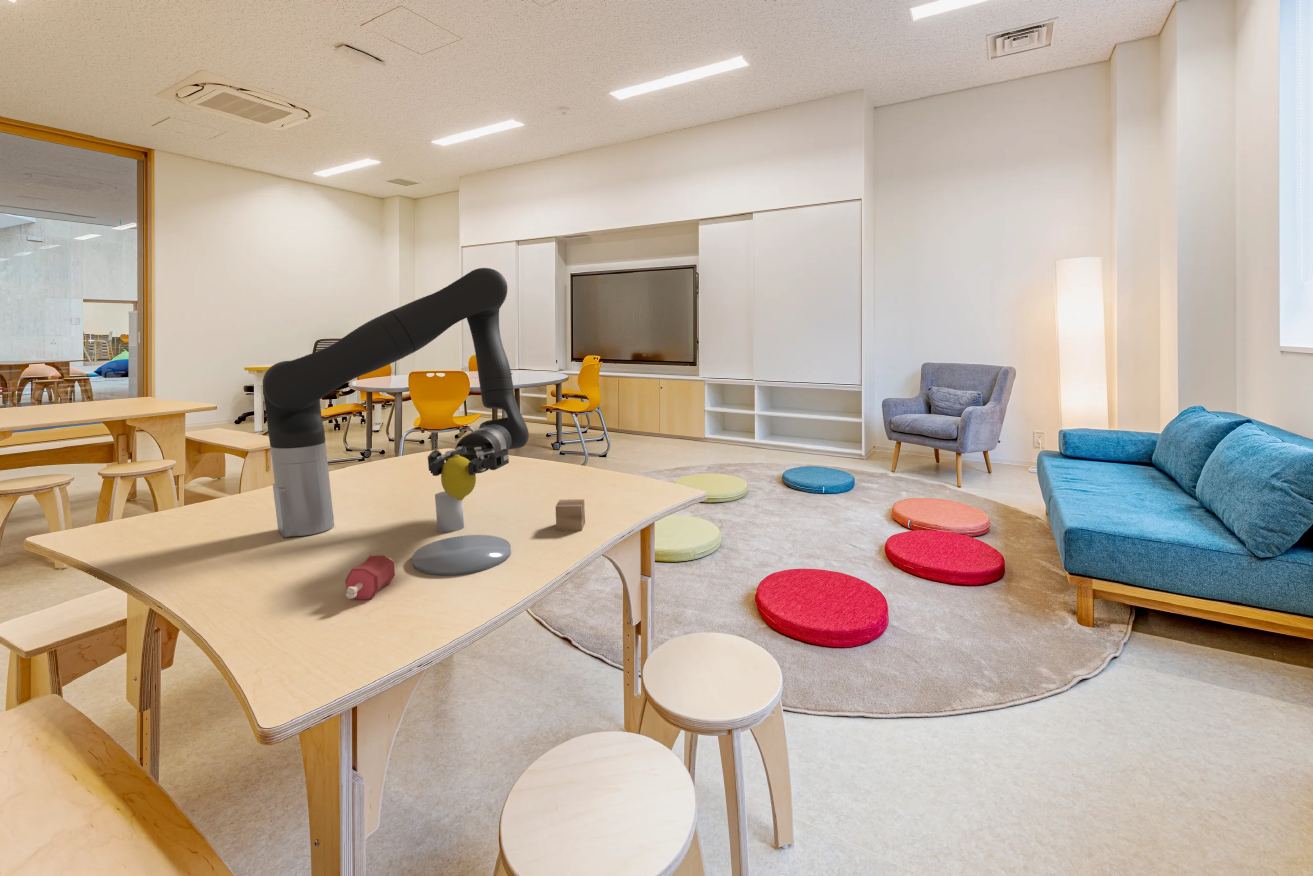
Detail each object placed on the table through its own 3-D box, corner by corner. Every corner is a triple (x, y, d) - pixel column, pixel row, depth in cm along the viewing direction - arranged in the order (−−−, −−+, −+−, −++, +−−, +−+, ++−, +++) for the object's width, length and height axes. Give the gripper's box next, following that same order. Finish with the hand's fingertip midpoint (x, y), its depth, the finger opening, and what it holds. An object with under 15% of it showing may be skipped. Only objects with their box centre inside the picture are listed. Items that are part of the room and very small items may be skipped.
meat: (372, 571, 94) (378, 543, 93) (401, 579, 94) (408, 551, 93) (328, 605, 82) (335, 573, 81) (363, 614, 82) (369, 583, 81)
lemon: (482, 496, 103) (478, 451, 101) (469, 505, 97) (465, 458, 96) (451, 495, 103) (448, 451, 102) (437, 505, 98) (432, 458, 96)
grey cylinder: (443, 533, 114) (441, 498, 113) (433, 528, 118) (430, 493, 116) (468, 528, 117) (466, 494, 116) (457, 522, 121) (455, 489, 120)
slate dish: (435, 583, 90) (435, 576, 90) (399, 556, 102) (398, 549, 102) (528, 557, 101) (527, 550, 101) (485, 535, 113) (484, 529, 113)
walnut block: (560, 523, 120) (559, 499, 119) (585, 523, 120) (584, 499, 119) (556, 531, 115) (555, 506, 114) (582, 531, 115) (581, 506, 114)
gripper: (443, 430, 112) (406, 447, 96) (518, 429, 112) (495, 446, 96) (446, 468, 114) (410, 492, 97) (520, 467, 114) (498, 491, 97)
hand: (452, 469), depth 97 cm, fingers closed on lemon, 5 cm apart
